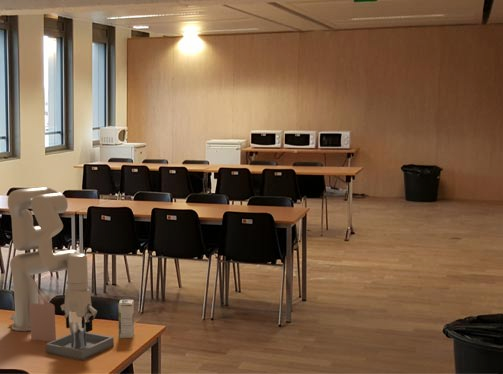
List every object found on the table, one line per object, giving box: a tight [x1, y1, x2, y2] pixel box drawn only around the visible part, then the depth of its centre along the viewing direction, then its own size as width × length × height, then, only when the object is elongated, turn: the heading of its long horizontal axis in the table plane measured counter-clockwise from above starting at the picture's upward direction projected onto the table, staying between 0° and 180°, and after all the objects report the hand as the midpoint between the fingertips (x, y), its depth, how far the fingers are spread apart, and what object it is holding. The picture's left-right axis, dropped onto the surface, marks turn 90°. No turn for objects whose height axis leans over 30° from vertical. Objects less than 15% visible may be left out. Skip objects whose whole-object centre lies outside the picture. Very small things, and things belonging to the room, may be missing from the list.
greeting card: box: [30, 299, 57, 342], centre depth 288 cm, size 11×7×15 cm, turn 37°
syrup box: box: [118, 299, 135, 339], centre depth 292 cm, size 6×6×14 cm
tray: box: [45, 332, 115, 361], centre depth 277 cm, size 18×18×4 cm
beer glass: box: [69, 311, 87, 350], centre depth 277 cm, size 7×7×15 cm
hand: (79, 329), depth 276 cm, fingers open, 9 cm apart
